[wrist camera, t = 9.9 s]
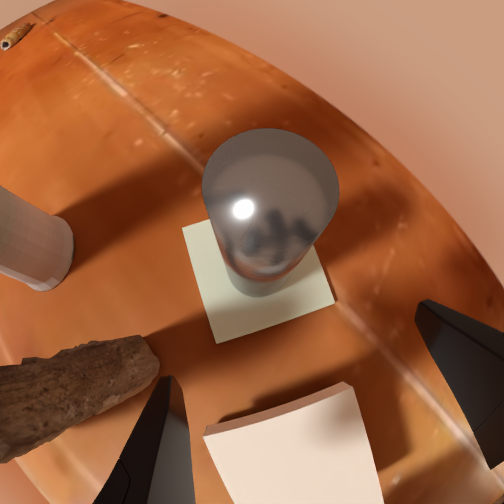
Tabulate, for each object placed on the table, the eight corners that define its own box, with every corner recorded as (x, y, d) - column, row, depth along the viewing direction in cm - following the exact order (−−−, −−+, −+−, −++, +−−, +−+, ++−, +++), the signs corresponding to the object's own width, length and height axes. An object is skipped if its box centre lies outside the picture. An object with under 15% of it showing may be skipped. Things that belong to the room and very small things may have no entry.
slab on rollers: (368, 479, 17) (391, 505, 12) (254, 518, 16) (255, 552, 11) (336, 372, 19) (360, 383, 15) (206, 415, 19) (194, 438, 14)
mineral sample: (148, 332, 20) (-10, 326, 5) (175, 380, 19) (47, 458, 5) (21, 400, 18) (-97, 417, 3) (40, 437, 17) (-72, 475, 2)
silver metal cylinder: (299, 274, 21) (365, 200, 9) (249, 309, 20) (254, 278, 8) (264, 227, 22) (284, 111, 10) (215, 259, 21) (177, 167, 9)
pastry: (23, 29, 37) (18, 21, 33) (37, 24, 37) (32, 15, 33) (1, 52, 35) (-5, 44, 31) (13, 48, 34) (7, 38, 31)
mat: (333, 303, 21) (335, 302, 20) (217, 343, 20) (216, 343, 20) (291, 196, 23) (292, 194, 23) (183, 229, 22) (182, 228, 22)
